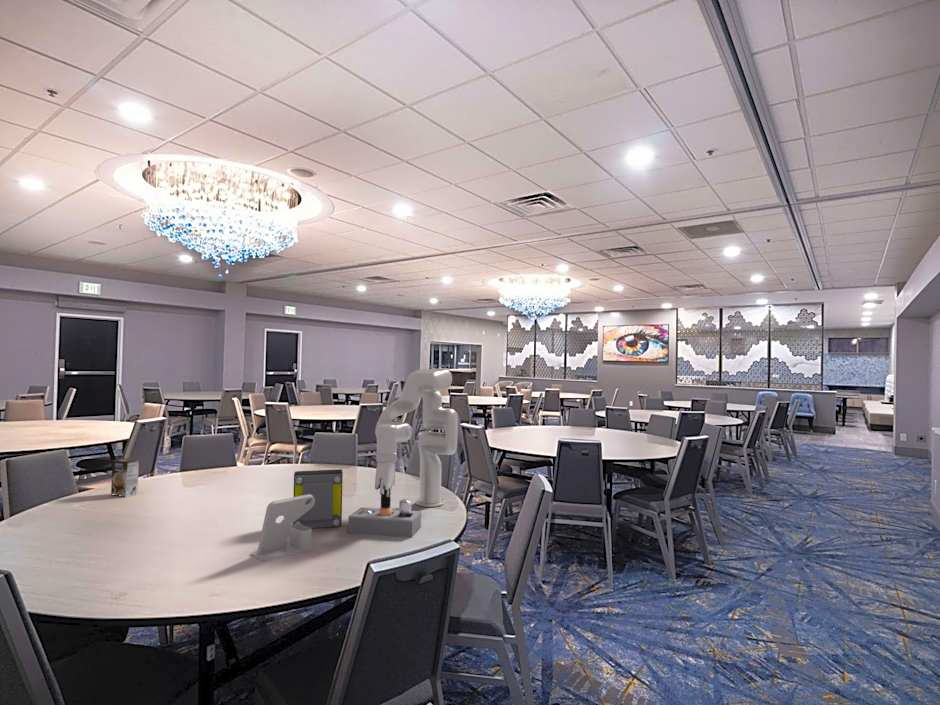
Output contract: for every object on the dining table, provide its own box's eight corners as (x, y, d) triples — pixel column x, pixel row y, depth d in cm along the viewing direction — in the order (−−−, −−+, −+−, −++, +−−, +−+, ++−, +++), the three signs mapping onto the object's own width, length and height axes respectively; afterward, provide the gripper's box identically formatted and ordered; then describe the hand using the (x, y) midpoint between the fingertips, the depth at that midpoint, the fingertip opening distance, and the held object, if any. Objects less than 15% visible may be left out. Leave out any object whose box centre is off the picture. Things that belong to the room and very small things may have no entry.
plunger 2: (401, 512, 196) (401, 498, 196) (412, 513, 195) (412, 499, 195) (397, 516, 191) (397, 501, 191) (409, 517, 190) (409, 502, 191)
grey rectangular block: (360, 523, 202) (361, 507, 202) (420, 527, 198) (421, 511, 198) (348, 532, 190) (348, 516, 190) (412, 537, 186) (412, 520, 186)
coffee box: (110, 495, 238) (111, 460, 238) (123, 492, 244) (124, 457, 244) (125, 497, 235) (126, 461, 236) (138, 494, 241) (139, 459, 242)
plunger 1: (362, 522, 198) (363, 508, 198) (373, 523, 197) (374, 509, 197) (358, 526, 194) (358, 511, 194) (369, 527, 193) (370, 512, 193)
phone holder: (299, 541, 180) (300, 488, 181) (315, 548, 174) (316, 493, 174) (249, 554, 167) (251, 497, 168) (265, 562, 161) (266, 503, 161)
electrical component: (292, 530, 192) (293, 476, 192) (293, 522, 201) (295, 470, 202) (341, 527, 196) (342, 474, 197) (340, 519, 206) (341, 469, 207)
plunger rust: (381, 519, 197) (382, 505, 197) (393, 520, 196) (393, 505, 196) (377, 522, 192) (378, 508, 193) (389, 523, 192) (389, 509, 192)
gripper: (383, 454, 203) (382, 501, 202) (369, 460, 188) (368, 512, 187) (402, 454, 202) (401, 502, 201) (389, 461, 187) (388, 513, 186)
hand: (385, 507), depth 194 cm, fingers closed
